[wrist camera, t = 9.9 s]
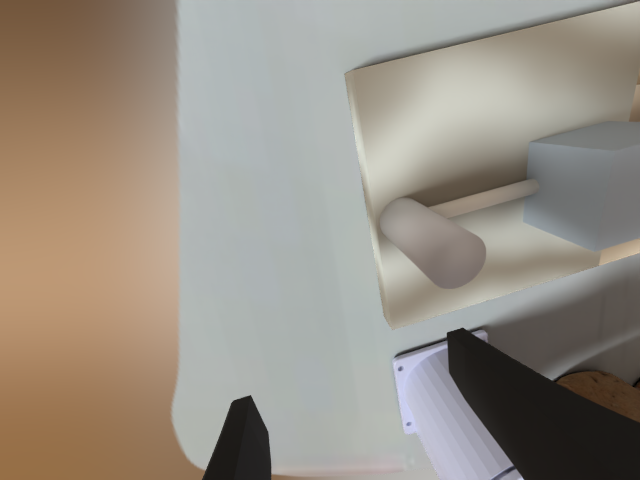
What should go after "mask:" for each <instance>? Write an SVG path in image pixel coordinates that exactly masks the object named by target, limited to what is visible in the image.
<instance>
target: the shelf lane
mask: <svg viewBox="0 0 640 480" xmlns="http://www.w3.org/2000/svg"><path fill="white" fill-rule="evenodd" d="M345 80H346V86H347V92H348V98H349V104H350V110H351V116H352V122H353V129H354V135H355V141H356V147H357V153H358V159H359V165H360V172H361V178H362V184H363V190H364V196H365V202H366V208H367V215H368V221H369V227H370V233H371V239H372V245H373V251H374V257H375V264H376V270H377V276H378V282H379V288H380V294H381V300H382V307H383V313H384V317H385V319H386V321H387V322H388V324H389V326H390V327H391V329H392V330H395V329H398V328H401V327H404V326H408V325H411V324H414V323H417V322H420V321H424V320H427V319H430V318H433V317H436V316H440V315H443V314H446V313H449V312H452V311H456V310H459V309H462V308H465V307H468V306H472V305H475V304H478V303H481V302H484V301H488V300H491V299H494V298H497V297H500V296H504V295H507V294H510V293H513V292H516V291H520V290H523V289H526V288H529V287H532V286H536V285H539V284H542V283H545V282H548V281H552V280H555V279H558V278H561V277H564V276H568V275H571V274H574V273H577V272H580V271H584V270H587V269H590V268H593V267H596V266H600V265H603V264H606V263H609V262H612V261H616V260H619V259H622V258H625V257H628V256H632V255H635V254H638V253H640V238H639V239H635V240H632V241H629V242H626V243H622V244H619V245H616V246H612V247H609V248H606V249H603V250H599V251H596V252H593V251H591V250H589V249H586V248H584V247H581V246H579V245H577V244H574V243H572V242H569V241H567V240H565V239H562V238H560V237H557V236H555V235H552V234H550V233H548V232H545V231H543V230H540V229H538V228H536V227H533V226H531V225H528V224H526V223H524V222H523V213H524V201H525V197H521V198H517V199H514V200H510V201H507V202H503V203H500V204H496V205H493V206H489V207H486V208H482V209H478V210H475V211H471V212H468V213H464V214H461V215H457V216H454V217H450V218H447V219H448V220H450V221H452V222H454V223H456V224H457V225H459V226H461V227H463V228H464V229H466V230H468V231H470V232H471V233H473V234H475V235H477V236H478V237H480V238H481V239H482V241H483V242H484V244H485V247H486V260H485V263H484V265H483V267H482V269H481V271H480V272H479V273H478V275H477V276H476V277H475V278H474V279H473V280H472V281H470V282H469V283H467V284H466V285H464V286H461V287H459V288H455V289H444V288H440V287H438V286H437V285H435V284H434V283H433V282H432V281H431V280H430V279H429V278H428V277H427V276H426V275H425V274H424V273H423V272H422V271H421V270H420V269H419V268H418V267H417V266H416V265H415V264H414V263H413V262H412V261H411V260H410V259H409V258H408V257H407V256H406V255H405V254H404V253H403V252H402V251H400V250H399V249H398V248H397V247H396V246H395V245H394V244H393V243H392V242H391V241H390V240H389V239H388V238H387V237H386V236H385V235H384V234H383V232H382V231H381V228H380V216H381V213H382V211H383V209H384V208H385V207H386V206H387V205H388V204H389V203H390V202H391V201H393V200H395V199H397V198H401V197H407V198H411V199H413V200H415V201H417V202H418V203H420V204H422V205H424V206H426V207H431V206H434V205H438V204H442V203H445V202H449V201H453V200H456V199H460V198H463V197H467V196H471V195H474V194H478V193H481V192H485V191H489V190H492V189H496V188H499V187H503V186H507V185H510V184H514V183H517V182H521V181H525V180H526V176H527V164H528V152H529V142H531V141H535V140H539V139H542V138H546V137H550V136H554V135H557V134H561V133H565V132H569V131H572V130H576V129H580V128H584V127H587V126H591V125H595V124H599V123H602V122H606V121H622V122H640V1H638V2H634V3H630V4H626V5H622V6H617V7H613V8H609V9H605V10H601V11H597V12H592V13H588V14H584V15H580V16H576V17H572V18H567V19H563V20H559V21H555V22H551V23H547V24H542V25H538V26H534V27H530V28H526V29H522V30H517V31H513V32H509V33H505V34H501V35H497V36H492V37H488V38H484V39H480V40H476V41H472V42H467V43H463V44H459V45H455V46H451V47H447V48H442V49H438V50H434V51H430V52H426V53H422V54H417V55H413V56H409V57H405V58H401V59H397V60H392V61H388V62H384V63H380V64H376V65H372V66H367V67H363V68H359V69H355V70H352V71H350V72H347V73H345Z"/></svg>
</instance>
